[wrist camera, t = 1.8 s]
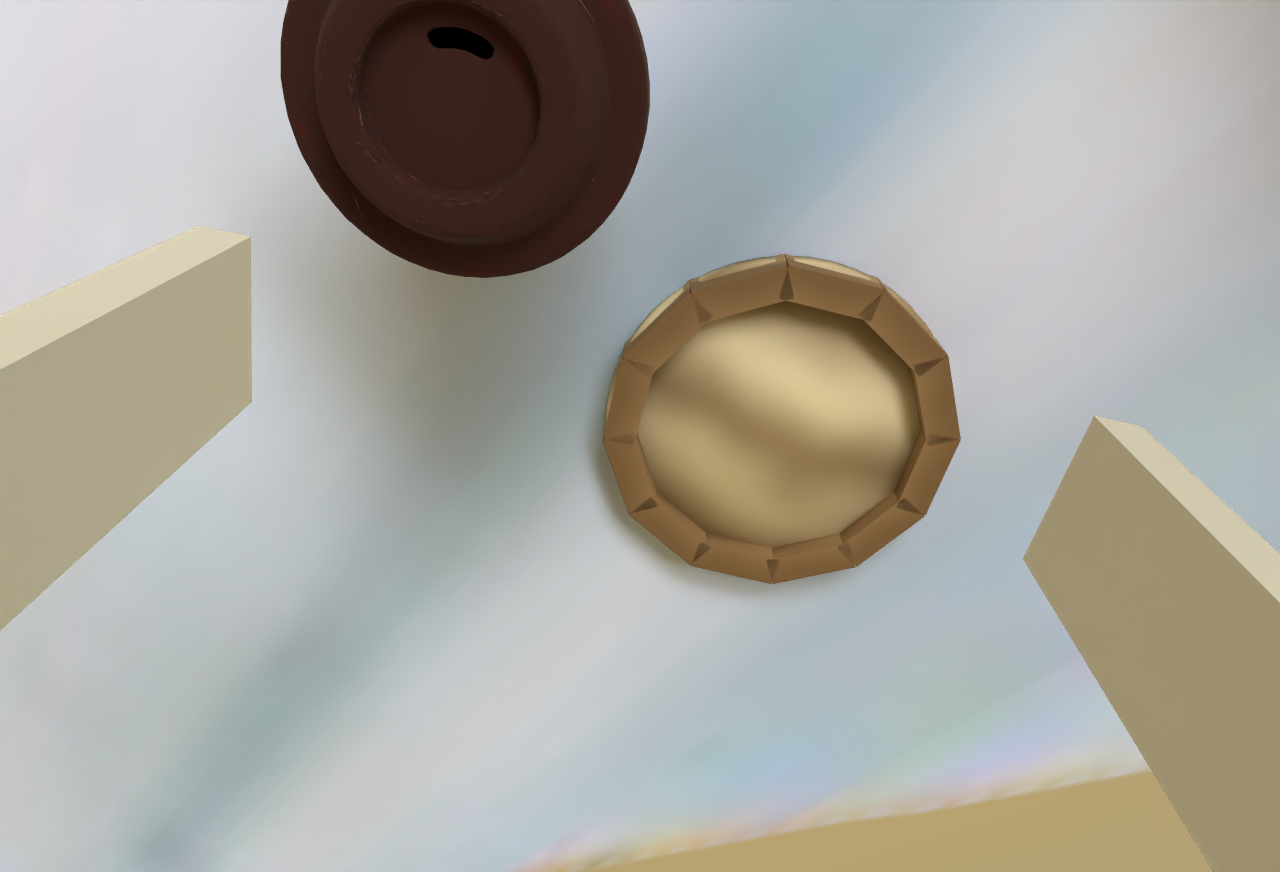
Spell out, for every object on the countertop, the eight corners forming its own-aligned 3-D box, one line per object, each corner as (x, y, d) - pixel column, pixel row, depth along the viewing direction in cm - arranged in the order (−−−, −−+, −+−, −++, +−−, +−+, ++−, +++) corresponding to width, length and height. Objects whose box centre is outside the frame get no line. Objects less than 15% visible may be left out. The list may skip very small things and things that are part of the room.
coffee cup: (546, 237, 38) (467, 364, 25) (371, 61, 35) (174, 98, 22) (713, 69, 34) (727, 111, 21) (534, -141, 32) (419, -246, 18)
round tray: (651, 215, 37) (650, 225, 36) (1007, 305, 38) (1021, 318, 37) (577, 522, 45) (573, 541, 43) (877, 591, 46) (883, 613, 44)
